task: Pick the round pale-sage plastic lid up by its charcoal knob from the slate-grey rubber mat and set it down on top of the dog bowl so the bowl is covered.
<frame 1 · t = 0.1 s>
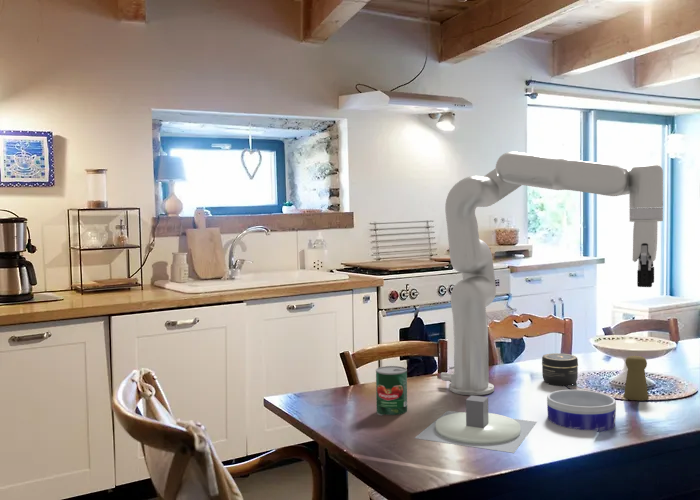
hand: (645, 284, 163), 31 cm above the table, fingers open, 9 cm apart
mat: (477, 432, 150), on the table
lid: (477, 429, 150), point 1 cm above the table, touching mat
dog bowl: (581, 423, 155), on the table
olive pawn: (636, 397, 175), on the table
canned tomato: (392, 413, 166), on the table
jar: (560, 383, 191), on the table
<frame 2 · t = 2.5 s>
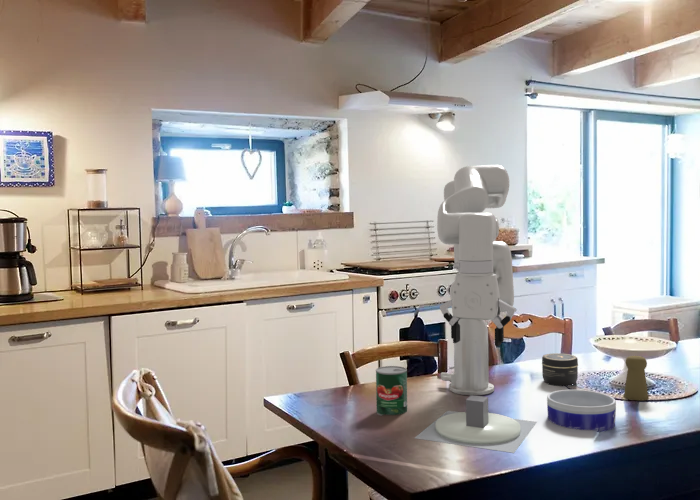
hand: (477, 343, 149), 20 cm above the table, fingers open, 9 cm apart
nothing on the table moved.
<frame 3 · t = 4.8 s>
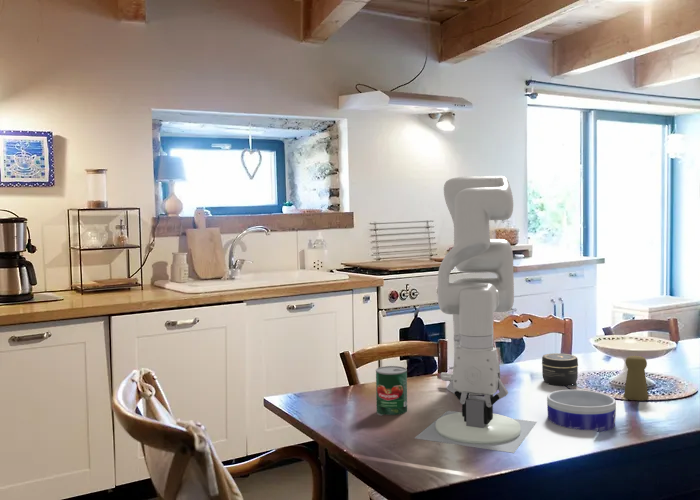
hand: (477, 420, 150), 3 cm above the table, fingers closed on lid, 4 cm apart
lid: (477, 429, 150), point 1 cm above the table, touching gripper, mat
everything else where it was.
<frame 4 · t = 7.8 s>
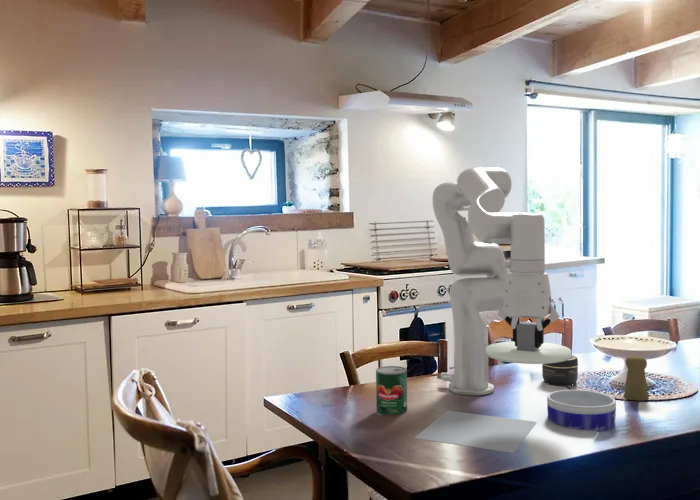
hand: (528, 345, 151), 19 cm above the table, fingers closed on lid, 4 cm apart
lid: (527, 354, 152), point 17 cm above the table, touching gripper
everything else where it was.
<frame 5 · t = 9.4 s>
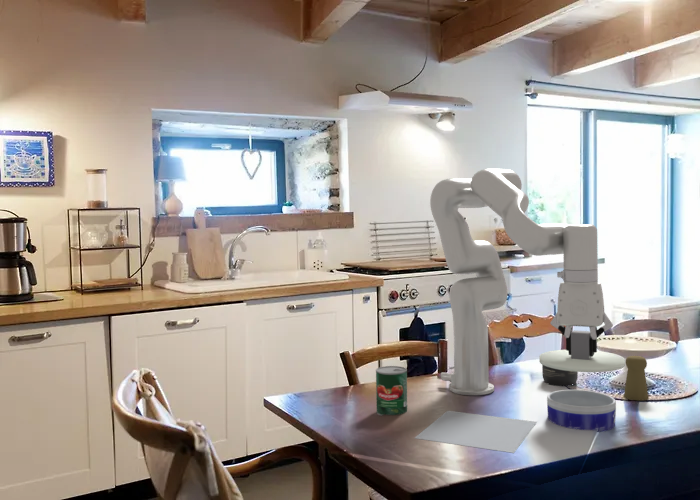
hand: (581, 353, 154), 16 cm above the table, fingers closed on lid, 4 cm apart
lid: (581, 362, 154), point 14 cm above the table, touching gripper
everything else where it was.
when the fingers open (10 cm above the table, at t = 10.8 s): lid drops 2 cm, resting on dog bowl.
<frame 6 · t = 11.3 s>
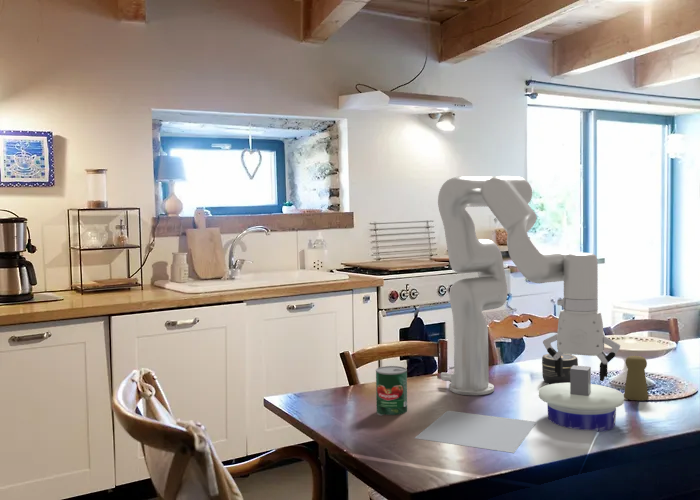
hand: (580, 377, 155), 11 cm above the table, fingers open, 9 cm apart
lid: (580, 397, 155), point 6 cm above the table, touching dog bowl
dog bowl: (581, 423, 155), on the table, touching lid
everything else where it was.
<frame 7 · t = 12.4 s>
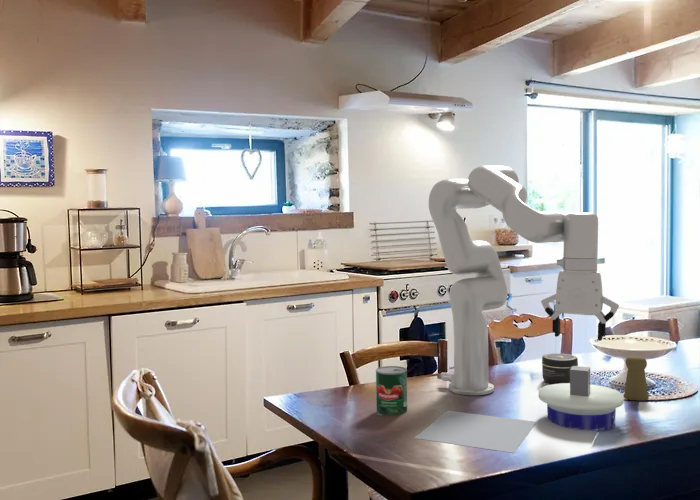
hand: (578, 337, 155), 20 cm above the table, fingers open, 9 cm apart
nothing on the table moved.
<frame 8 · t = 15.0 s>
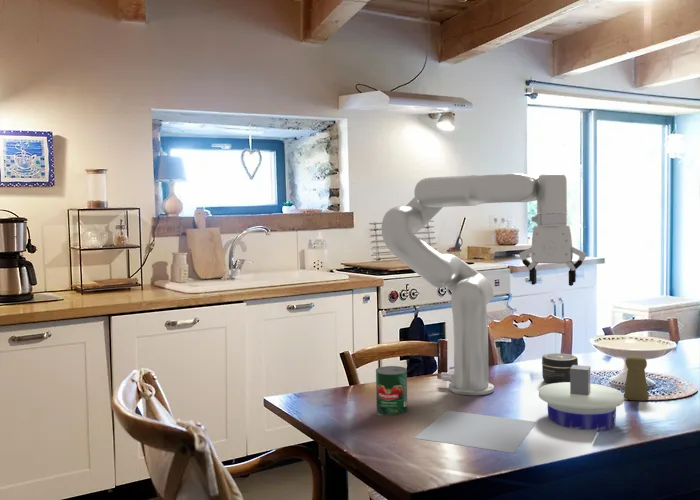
hand: (552, 284, 175), 30 cm above the table, fingers open, 9 cm apart
nothing on the table moved.
at the end: lid 0.3 cm from the dog bowl (horizontally); lid point 5.7 cm above the table; lid tilted 0° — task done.
